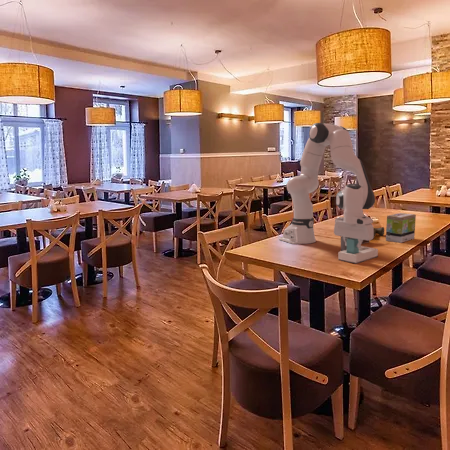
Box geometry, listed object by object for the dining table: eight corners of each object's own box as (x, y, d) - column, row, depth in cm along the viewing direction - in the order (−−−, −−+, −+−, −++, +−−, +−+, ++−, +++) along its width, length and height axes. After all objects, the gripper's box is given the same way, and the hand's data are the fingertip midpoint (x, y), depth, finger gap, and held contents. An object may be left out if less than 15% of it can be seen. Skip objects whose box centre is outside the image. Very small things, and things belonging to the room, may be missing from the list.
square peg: (346, 259, 202) (346, 239, 200) (351, 257, 204) (351, 237, 202) (353, 260, 198) (353, 240, 197) (358, 259, 201) (358, 238, 199)
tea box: (402, 243, 231) (402, 217, 229) (385, 240, 239) (385, 215, 237) (415, 238, 241) (416, 213, 238) (398, 236, 248) (399, 212, 246)
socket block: (338, 260, 202) (338, 252, 202) (360, 253, 213) (360, 245, 213) (355, 263, 195) (356, 255, 194) (377, 256, 205) (377, 248, 205)
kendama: (360, 239, 247) (370, 232, 263) (377, 241, 242) (386, 234, 258) (361, 229, 246) (370, 223, 262) (378, 231, 241) (386, 224, 257)
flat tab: (340, 253, 215) (340, 236, 213) (347, 251, 218) (347, 234, 216) (343, 254, 213) (344, 237, 212) (350, 252, 216) (350, 235, 215)
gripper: (331, 217, 204) (331, 244, 206) (368, 221, 188) (367, 251, 190) (339, 215, 208) (339, 242, 210) (376, 219, 192) (375, 249, 194)
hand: (352, 246), depth 200 cm, fingers open, 5 cm apart
